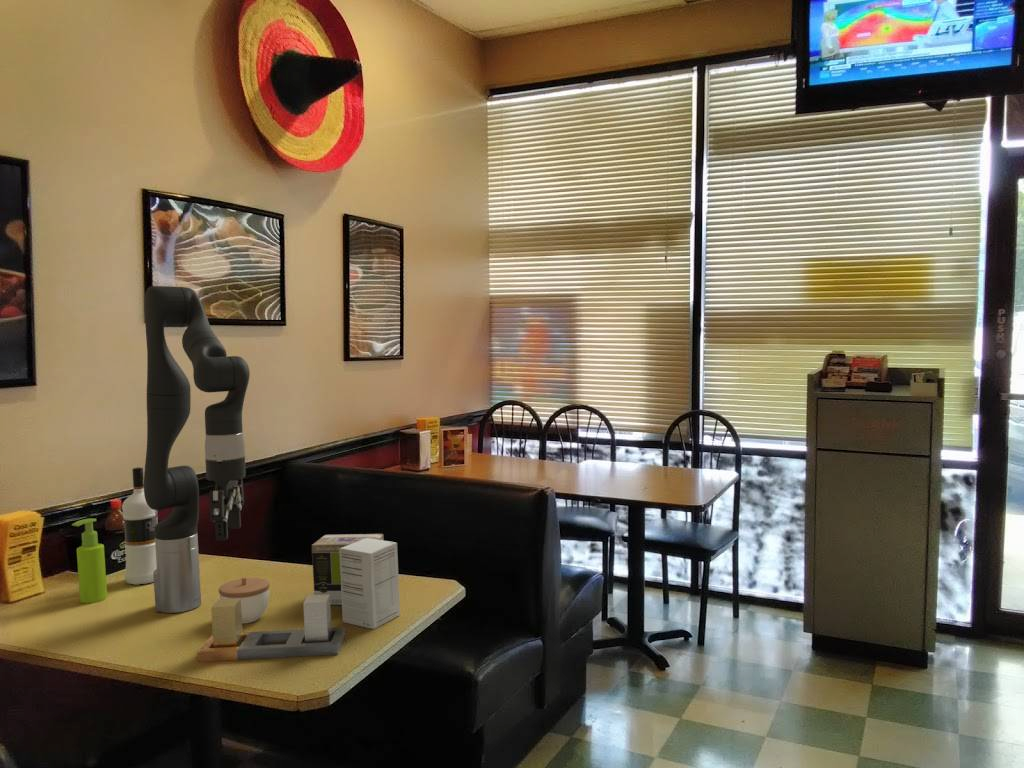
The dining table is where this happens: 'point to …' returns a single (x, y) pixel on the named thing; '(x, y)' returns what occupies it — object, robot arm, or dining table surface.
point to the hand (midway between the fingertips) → (228, 534)
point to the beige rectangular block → (227, 623)
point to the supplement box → (369, 582)
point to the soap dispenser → (91, 565)
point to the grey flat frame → (272, 646)
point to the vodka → (139, 534)
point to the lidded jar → (248, 596)
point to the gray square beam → (317, 619)
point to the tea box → (332, 563)
